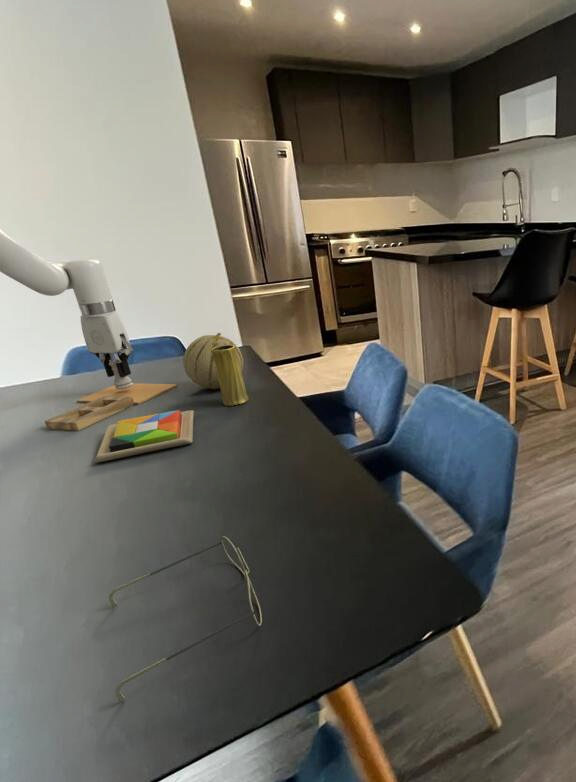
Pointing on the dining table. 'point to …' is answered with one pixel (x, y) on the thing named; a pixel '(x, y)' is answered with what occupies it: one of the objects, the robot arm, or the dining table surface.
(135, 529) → the dining table surface
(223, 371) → the vase
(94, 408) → the holder
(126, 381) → the rook chess piece
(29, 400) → the dining table surface
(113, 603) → the eyeglasses
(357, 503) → the dining table surface
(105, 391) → the cork mat
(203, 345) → the cantaloupe
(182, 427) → the wooden puzzle
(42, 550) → the dining table surface
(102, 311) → the robot arm
